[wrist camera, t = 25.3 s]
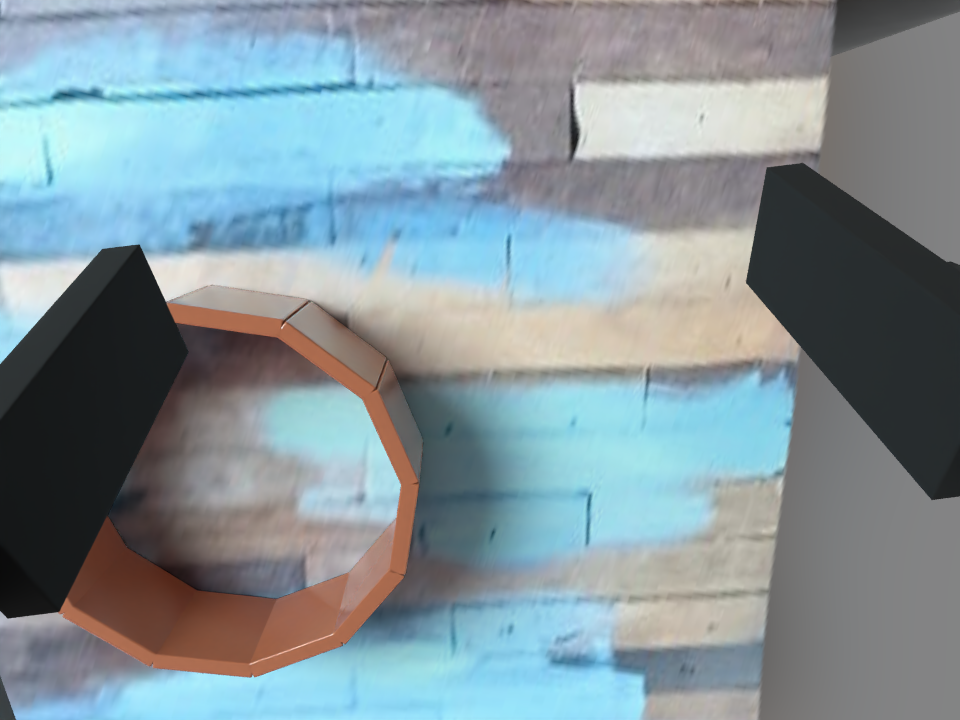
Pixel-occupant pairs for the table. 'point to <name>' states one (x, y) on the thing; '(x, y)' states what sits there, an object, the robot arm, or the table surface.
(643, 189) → the table surface
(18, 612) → the robot arm
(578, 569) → the table surface
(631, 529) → the table surface
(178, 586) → the faceted terracotta ring
